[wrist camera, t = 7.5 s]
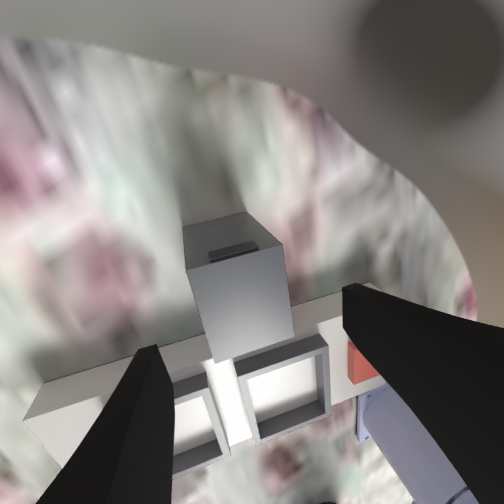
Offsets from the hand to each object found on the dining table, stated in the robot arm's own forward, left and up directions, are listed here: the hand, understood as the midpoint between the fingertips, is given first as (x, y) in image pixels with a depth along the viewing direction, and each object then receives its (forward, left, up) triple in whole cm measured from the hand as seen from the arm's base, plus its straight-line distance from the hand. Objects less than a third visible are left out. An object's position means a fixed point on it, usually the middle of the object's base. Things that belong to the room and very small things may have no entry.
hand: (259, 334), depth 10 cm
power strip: (+1, +10, -8) cm, 13 cm away
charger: (0, 0, -8) cm, 8 cm away
